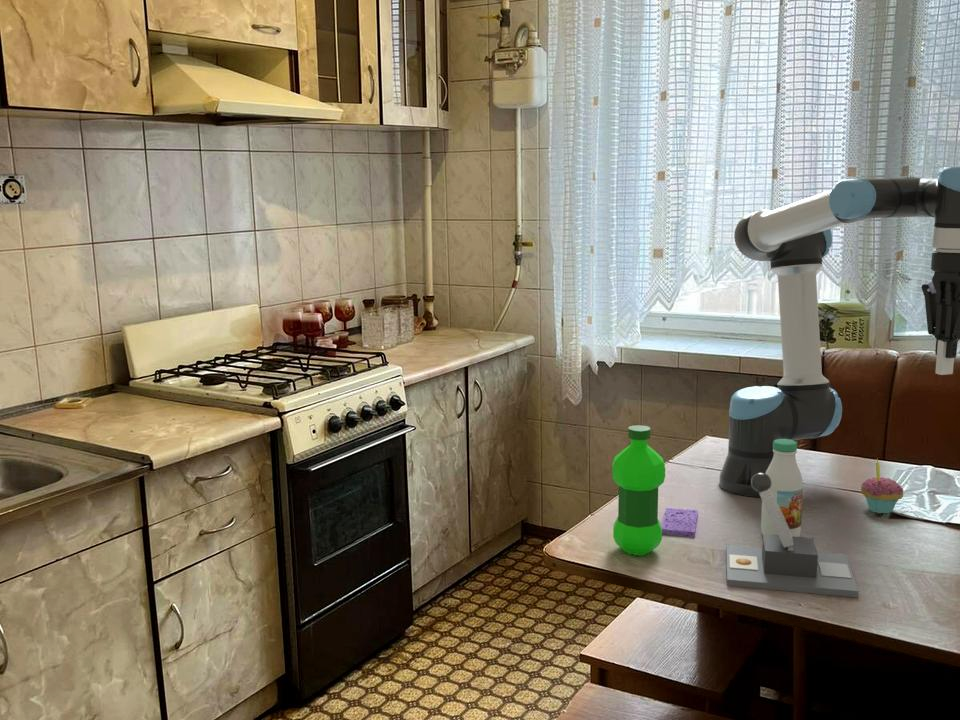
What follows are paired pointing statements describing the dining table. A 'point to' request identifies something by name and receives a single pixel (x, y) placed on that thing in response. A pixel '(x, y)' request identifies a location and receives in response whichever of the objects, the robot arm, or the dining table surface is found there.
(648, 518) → the plastic bottle
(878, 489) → the cupcake
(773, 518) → the toggle lever
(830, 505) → the dining table surface
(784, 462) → the milk bottle
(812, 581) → the switch board
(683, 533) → the sponges
